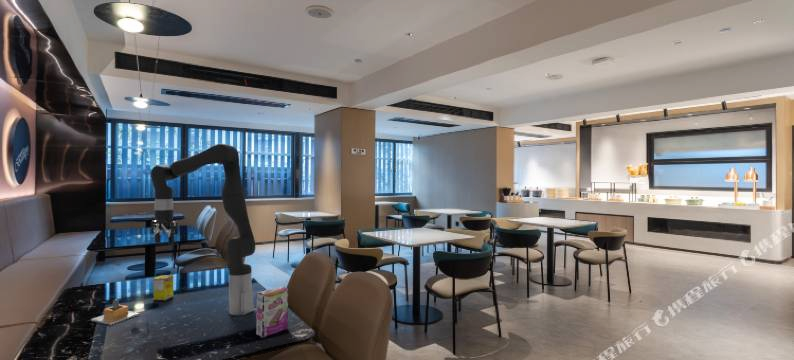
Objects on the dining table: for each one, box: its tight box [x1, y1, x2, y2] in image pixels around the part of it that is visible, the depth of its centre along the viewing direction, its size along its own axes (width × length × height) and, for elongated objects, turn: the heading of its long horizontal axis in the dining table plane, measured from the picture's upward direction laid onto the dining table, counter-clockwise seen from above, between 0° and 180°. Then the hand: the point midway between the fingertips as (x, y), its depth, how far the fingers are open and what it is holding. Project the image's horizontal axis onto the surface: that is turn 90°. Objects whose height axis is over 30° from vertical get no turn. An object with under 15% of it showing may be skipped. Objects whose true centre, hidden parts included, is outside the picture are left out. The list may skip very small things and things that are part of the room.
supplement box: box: [152, 274, 174, 302], centre depth 186 cm, size 6×6×11 cm
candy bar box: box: [255, 285, 289, 339], centre depth 149 cm, size 11×5×16 cm, turn 141°
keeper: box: [90, 299, 141, 326], centre depth 162 cm, size 12×12×8 cm
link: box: [103, 304, 129, 320], centre depth 162 cm, size 6×6×4 cm
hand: (164, 243), depth 179 cm, fingers open, 8 cm apart
